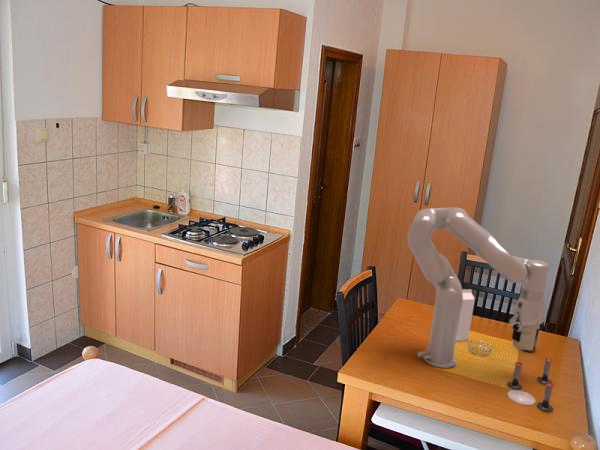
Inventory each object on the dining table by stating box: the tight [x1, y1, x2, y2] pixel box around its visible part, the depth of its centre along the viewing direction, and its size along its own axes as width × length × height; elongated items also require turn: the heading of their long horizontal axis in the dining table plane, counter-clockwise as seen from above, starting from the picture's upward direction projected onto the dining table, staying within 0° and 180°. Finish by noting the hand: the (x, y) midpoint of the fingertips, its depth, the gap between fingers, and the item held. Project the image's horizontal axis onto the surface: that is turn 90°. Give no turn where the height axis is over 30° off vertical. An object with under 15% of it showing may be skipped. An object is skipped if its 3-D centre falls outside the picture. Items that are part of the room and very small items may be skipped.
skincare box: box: [512, 320, 539, 350], centre depth 193 cm, size 6×4×12 cm
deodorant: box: [520, 329, 540, 354], centre depth 218 cm, size 6×6×15 cm
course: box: [506, 357, 554, 413], centre depth 184 cm, size 19×19×9 cm
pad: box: [507, 389, 536, 406], centre depth 181 cm, size 9×9×1 cm
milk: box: [456, 288, 476, 342], centre depth 223 cm, size 6×6×22 cm
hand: (524, 338), depth 194 cm, fingers closed on skincare box, 7 cm apart
